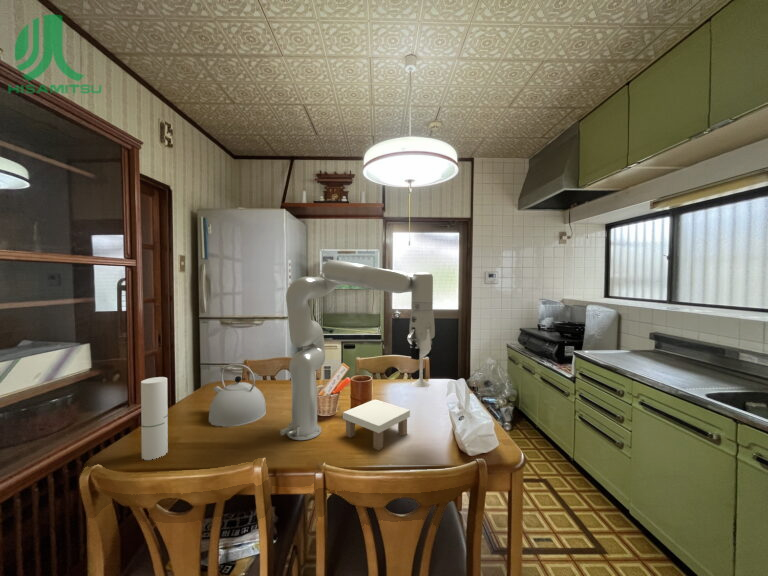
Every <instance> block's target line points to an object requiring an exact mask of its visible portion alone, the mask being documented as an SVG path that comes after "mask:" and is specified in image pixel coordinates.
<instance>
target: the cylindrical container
mask: <svg viewBox="0 0 768 576" xmlns="http://www.w3.org/2000/svg"><path fill="white" fill-rule="evenodd" d="M140 399H141V400H140V405H141V406H140V407H141V414H140V417H141V419H140V420H141V460H143V459H144V460H143V461H151V460H152V459H153V460H157V459H159V457H160V458H162V457H163V456H166V453H167V454H168V452H169V448H168V447H169V446H168V444H169V443H168V442H169V439H168V438H169V437H168V434H169V432H168V430H169V428H168V421H169V420H168V419H169V418H168V416H169V415H168V412H169V410H168V404H169V403H168V377H165V376H158V377H157V376H156V377H150V378H146V379H144V380H141V382H140ZM161 456H162V457H161ZM156 458H157V459H156ZM153 460H152V461H153Z"/></svg>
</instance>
